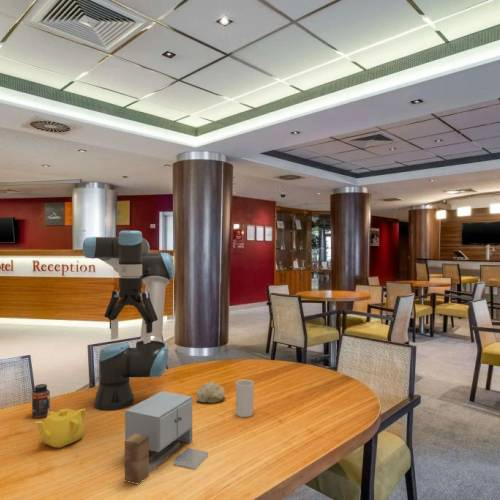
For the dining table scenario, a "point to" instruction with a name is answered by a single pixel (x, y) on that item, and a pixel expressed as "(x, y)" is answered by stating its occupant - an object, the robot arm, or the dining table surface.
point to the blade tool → (143, 457)
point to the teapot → (62, 427)
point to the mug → (244, 398)
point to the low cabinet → (161, 419)
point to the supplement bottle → (40, 401)
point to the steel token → (191, 458)
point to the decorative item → (210, 393)
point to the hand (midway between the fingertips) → (130, 340)
